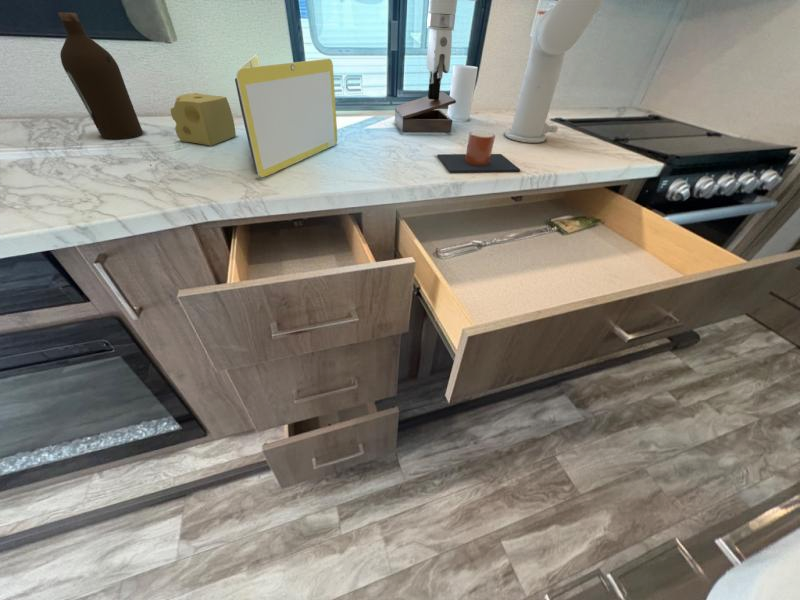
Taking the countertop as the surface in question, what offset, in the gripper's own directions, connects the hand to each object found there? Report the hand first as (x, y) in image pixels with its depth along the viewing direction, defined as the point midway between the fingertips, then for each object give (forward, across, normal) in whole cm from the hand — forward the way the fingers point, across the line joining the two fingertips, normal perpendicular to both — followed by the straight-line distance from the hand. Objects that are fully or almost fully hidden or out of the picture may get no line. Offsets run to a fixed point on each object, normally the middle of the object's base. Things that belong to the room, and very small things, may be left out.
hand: (433, 98), depth 104 cm
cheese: (+9, -12, +65) cm, 67 cm away
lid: (+2, 0, +3) cm, 4 cm away
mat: (+9, -34, -4) cm, 35 cm away
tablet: (+9, -25, +41) cm, 49 cm away
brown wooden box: (+9, 0, +3) cm, 9 cm away
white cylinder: (+9, +14, -14) cm, 22 cm away
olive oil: (+9, -8, +88) cm, 89 cm away
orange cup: (+8, -34, -4) cm, 35 cm away
